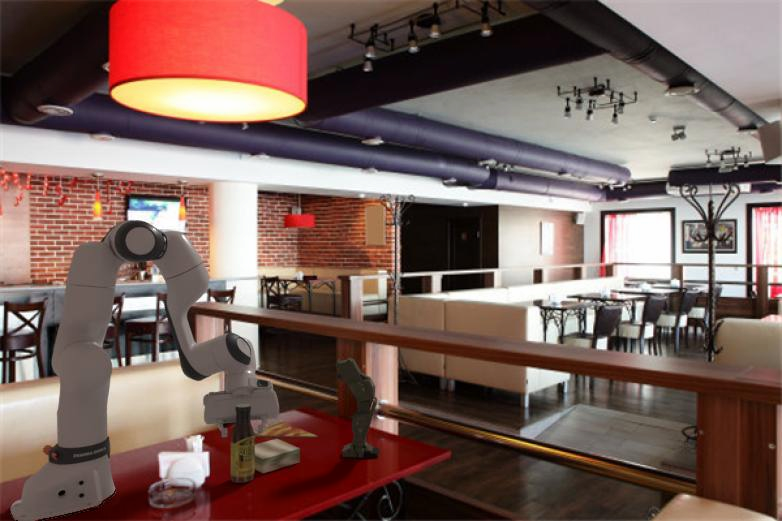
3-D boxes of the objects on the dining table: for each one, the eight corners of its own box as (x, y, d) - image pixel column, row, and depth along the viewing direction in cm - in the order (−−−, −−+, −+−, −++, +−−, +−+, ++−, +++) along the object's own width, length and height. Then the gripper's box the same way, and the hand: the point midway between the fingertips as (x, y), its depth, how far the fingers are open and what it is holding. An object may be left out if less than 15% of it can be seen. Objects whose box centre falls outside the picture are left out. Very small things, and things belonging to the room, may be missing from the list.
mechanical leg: (392, 447, 175) (367, 351, 176) (389, 456, 168) (363, 356, 168) (348, 457, 177) (323, 362, 177) (344, 466, 170) (318, 367, 170)
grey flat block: (262, 473, 159) (262, 459, 159) (241, 462, 168) (240, 448, 168) (300, 462, 167) (299, 448, 167) (277, 451, 176) (277, 438, 176)
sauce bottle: (240, 486, 150) (239, 410, 150) (225, 480, 154) (224, 406, 154) (260, 478, 156) (259, 404, 155) (245, 473, 159) (244, 401, 159)
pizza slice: (275, 450, 179) (275, 443, 179) (241, 433, 195) (241, 427, 195) (317, 438, 189) (317, 432, 189) (281, 423, 206) (281, 418, 206)
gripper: (202, 386, 161) (201, 432, 152) (277, 381, 166) (280, 425, 157) (203, 398, 165) (202, 443, 156) (276, 392, 171) (280, 436, 162)
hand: (242, 434), depth 157 cm, fingers open, 8 cm apart
